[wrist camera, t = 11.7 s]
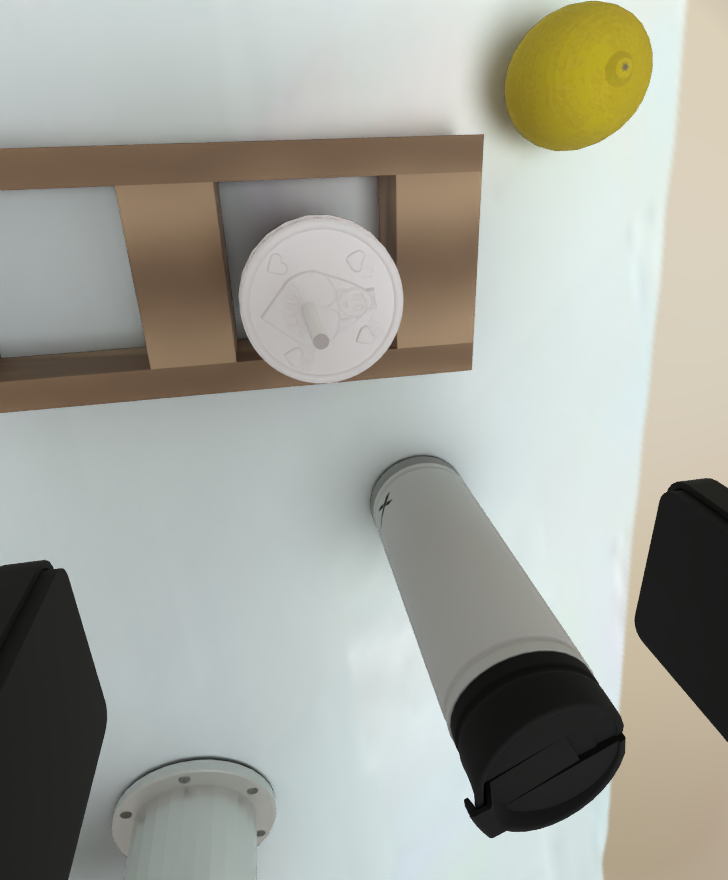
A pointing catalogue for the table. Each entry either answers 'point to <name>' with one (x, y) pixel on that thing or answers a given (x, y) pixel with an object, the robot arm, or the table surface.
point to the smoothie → (320, 299)
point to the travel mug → (494, 656)
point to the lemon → (578, 75)
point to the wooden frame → (206, 266)
